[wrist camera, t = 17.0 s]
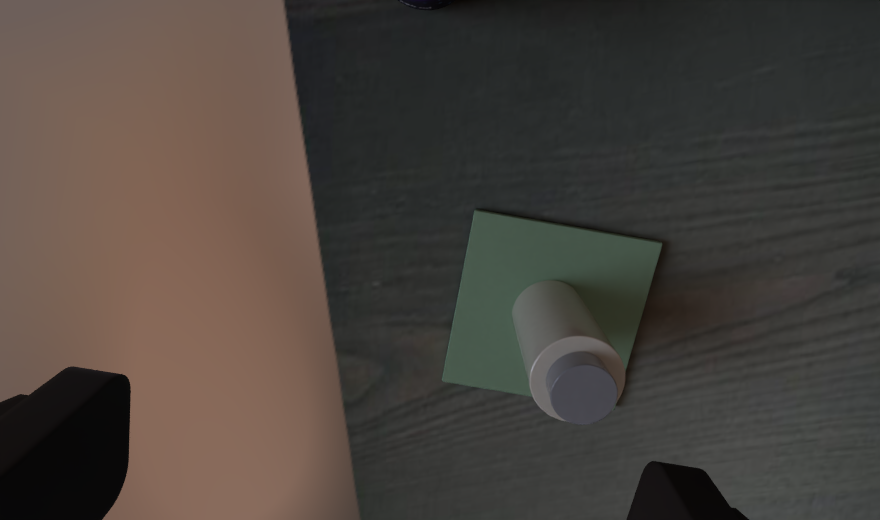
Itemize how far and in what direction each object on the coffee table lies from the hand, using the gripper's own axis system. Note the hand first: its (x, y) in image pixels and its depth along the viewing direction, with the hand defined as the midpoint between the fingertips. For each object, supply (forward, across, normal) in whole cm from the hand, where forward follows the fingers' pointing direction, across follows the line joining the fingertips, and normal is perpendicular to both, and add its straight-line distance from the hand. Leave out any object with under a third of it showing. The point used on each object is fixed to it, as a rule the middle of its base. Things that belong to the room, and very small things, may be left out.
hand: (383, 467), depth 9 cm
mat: (+28, -9, +7) cm, 30 cm away
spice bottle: (+27, -9, +7) cm, 29 cm away
